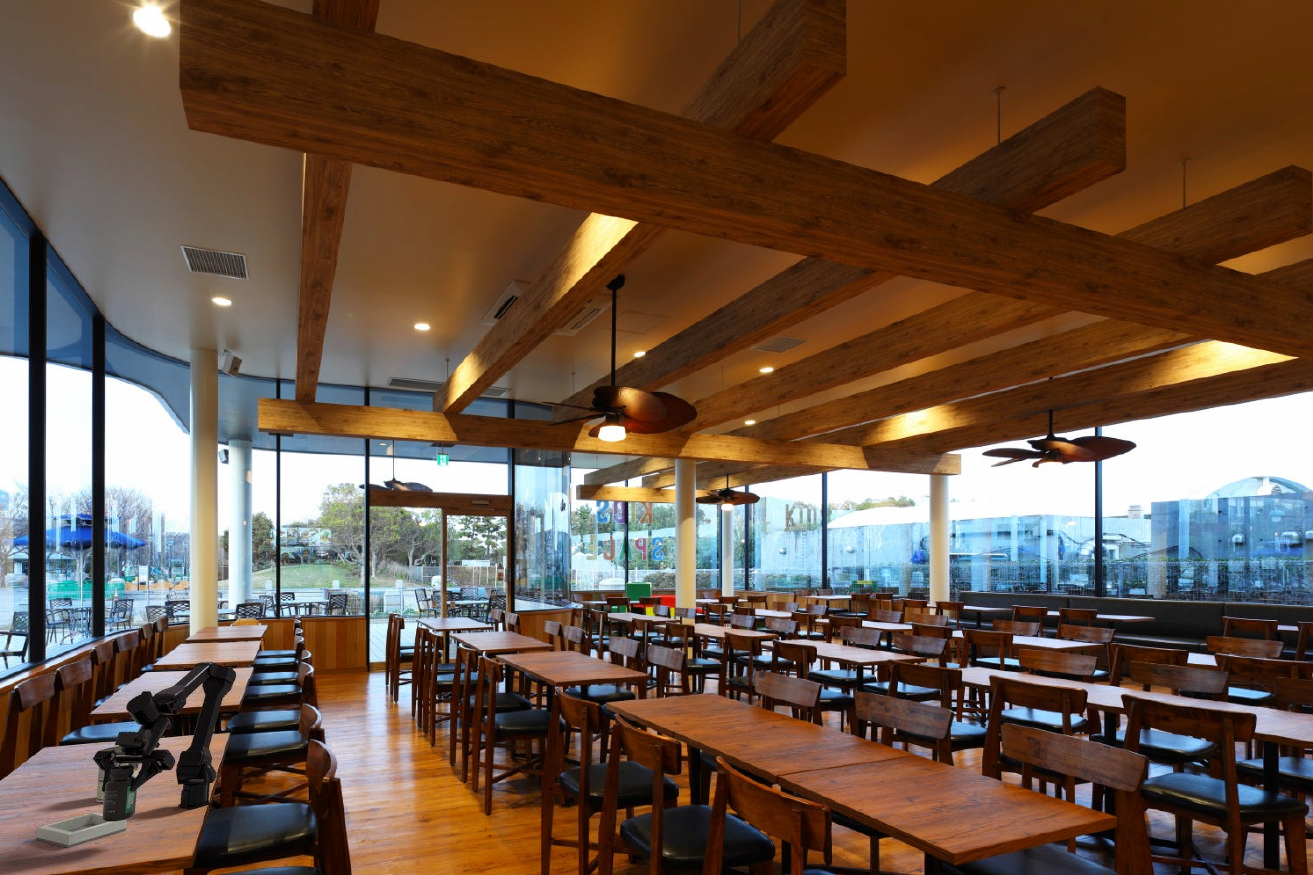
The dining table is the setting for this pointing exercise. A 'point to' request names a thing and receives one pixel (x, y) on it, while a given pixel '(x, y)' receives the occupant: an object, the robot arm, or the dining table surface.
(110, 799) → the supplement bottle
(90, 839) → the tray
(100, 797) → the coffee can
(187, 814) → the dining table surface
